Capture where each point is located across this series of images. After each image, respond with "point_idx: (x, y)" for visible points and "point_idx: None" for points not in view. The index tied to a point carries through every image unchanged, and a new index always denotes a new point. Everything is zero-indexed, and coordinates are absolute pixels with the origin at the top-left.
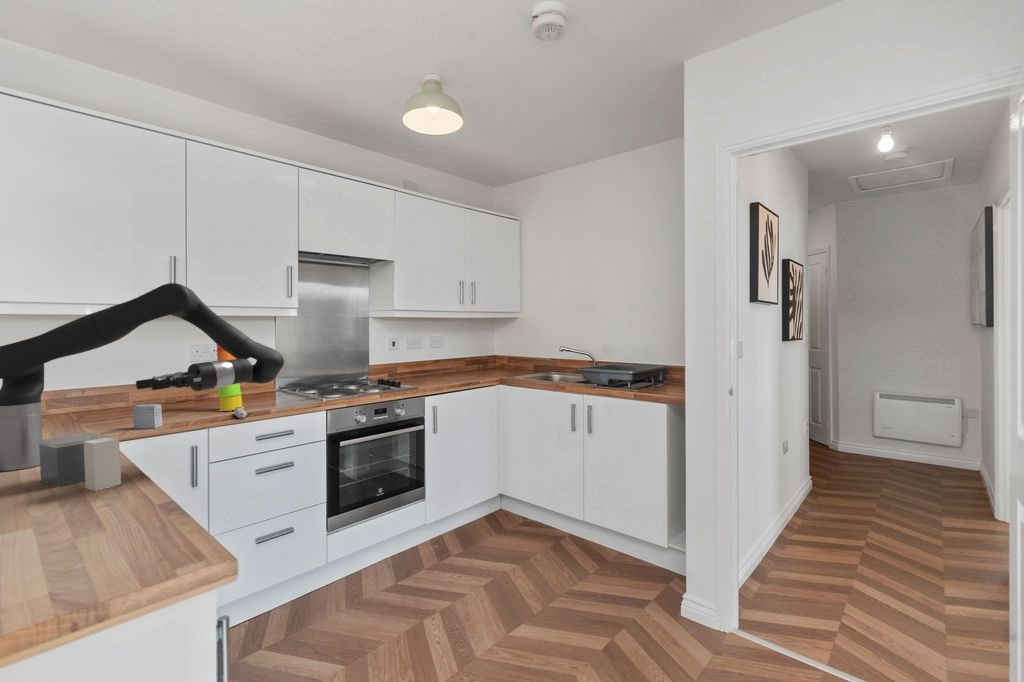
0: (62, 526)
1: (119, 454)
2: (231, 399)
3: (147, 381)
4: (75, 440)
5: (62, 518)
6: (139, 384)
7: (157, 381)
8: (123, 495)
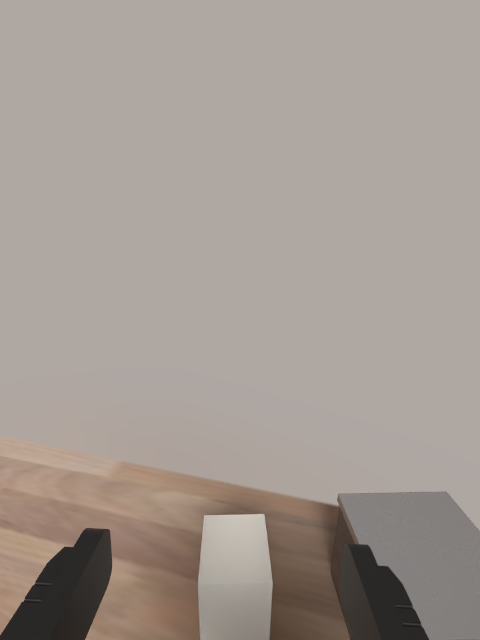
0: (66, 495)
1: (200, 620)
2: None
3: (372, 637)
4: (378, 539)
5: (100, 506)
6: (346, 575)
7: (69, 564)
8: (101, 633)
